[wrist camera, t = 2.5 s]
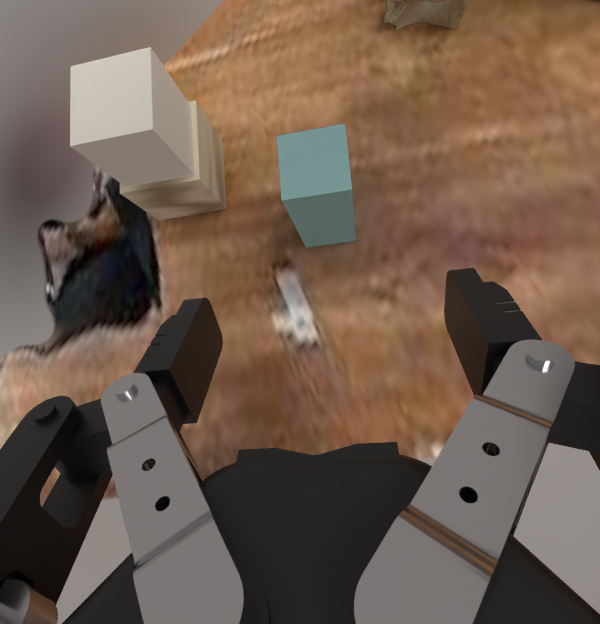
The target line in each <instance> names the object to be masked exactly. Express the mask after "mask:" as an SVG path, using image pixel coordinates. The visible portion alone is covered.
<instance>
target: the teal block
mask: <svg viewBox="0 0 600 624" xmlns="http://www.w3.org/2000/svg"><path fill="white" fill-rule="evenodd" d="M277 149H278V162H279V175H280V188H281V200H282V202H283V204H284V206H285V208H286V210H287V212H288V214H289V216H290V218H291V220H292V222H293V224H294V226H295V227H296V229H297V231H298V233H299V235H300V237H301V239H302V241H303V243H304V245H305V247H306V248H308V247H315V246H323V245H330V244H338V243H345V242H353V241H356V229H355V217H354V205H353V193H352V183H351V173H350V164H349V155H348V146H347V136H346V127H345V124H339V125H334V126H328V127H323V128H318V129H312V130H307V131H301V132H296V133H290V134H285V135H280V136H277Z"/></svg>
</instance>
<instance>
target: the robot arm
mask: <svg viewBox="0 0 600 624" xmlns="http://www.w3.org/2000/svg"><path fill="white" fill-rule="evenodd" d="M444 316H445V323H446V327H447V330H448V333H449V335H450V338H451V340H452V343H453V345H454V347H455V350H456V352H457V355H458V357H459V360H460V362H461V365H462V367H463V369H464V372H465V374H466V377H467V379H468V382H469V384H470V387H471V389H472V391H473V394H474V397H473V399H472V400H471V402H470V404H469V405H468V407H467V409H466V411H465V412H464V414H463V416H462V417H461V419H460V421H459V422H458V424H457V426H456V427H455V429H454V431H453V432H452V434H451V436H450V438H449V439H448V441H447V443H446V444H445V446H444V448H443V449H442V451H441V453H440V454H439V456H438V458H437V459H436V461H435V463H434V465H433V466H430V465H428V464H426V463H424V462H422V461H419V460H417V459H414V458H411V457H408V456H403V455H399V451H398V445H397V442H387V443H367V444H355V445H351V446H348V447H344V448H341V449H337V450H334V451H330V452H327V453H323V454H320V455H308V454H303V453H298V452H293V451H288V450H283V449H278V448H267V449H246V450H239V451H238V456H237V461H236V463H234V464H231V465H228V466H226V467H224V468H222V469H220V470H218V471H216V472H214V473H213V474H211V475H210V476H208V477H207V478H206V479H205V480H204V479H203V477H202V475H201V473H200V471H199V469H198V467H197V465H196V463H195V461H194V459H193V457H192V455H191V453H190V451H189V449H188V446H187V444H186V442H185V440H184V438H183V436H182V435H181V433H180V430H181V427H182V424H189V423H197V420H198V417H199V415H200V412H201V409H202V406H203V403H204V400H205V397H206V394H207V391H208V388H209V385H210V382H211V379H212V376H213V374H214V371H215V368H216V365H217V362H218V359H219V356H220V353H221V350H222V345H223V339H222V333H221V330H220V328H219V325H218V322H217V319H216V317H215V314H214V311H213V309H212V306H211V304H210V301H209V300H208V299H207V298H198V299H189V300H184V301H183V303H182V305H181V307H180V308H179V310H178V312H177V314H176V315H172V316H171V317H170V318H169V319H168V320H166V321H165V322H164V323H163V324H162V325H161V326H160V328H159V330H158V332H157V333H156V335H155V336H156V337H154V339H153V340H152V342H151V346H149V347H148V349H147V351H146V352H145V354H144V356H143V357H142V359H141V361H140V363H139V364H138V366H137V368H136V370H135V371H134V373H132V374H129V375H126V376H123V377H121V378H119V379H117V380H116V381H114V382H113V383H112V384H111V385H110V386H109V387H108V388H107V389H106V390H105V391H104V393H103V395H102V397H101V399H99V400H96V401H93V402H89V403H86V404H83V405H80V406H76V405H75V404H74V402H73V401H72V400H71V399H70V398H69V397H67V396H58V397H54V398H51V399H48V400H46V401H44V402H42V403H40V404H39V405H37V406H36V407H34V408H33V409H32V410H31V411H29V412H28V413H27V414H26V416H25V417H24V418H23V419H22V421H21V422H20V423H19V425H18V426H17V428H16V429H15V430H14V432H13V433H12V434H11V436H10V437H9V438H8V440H7V441H6V442H5V444H4V445H3V446H2V448H1V449H0V624H57V620H58V612H57V608H56V603H57V601H58V599H59V596H60V594H61V592H62V590H63V587H64V585H65V583H66V580H67V578H68V576H69V573H70V571H71V569H72V567H73V564H74V562H75V560H76V557H77V555H78V553H79V551H80V548H81V546H82V543H83V541H84V539H85V537H86V534H87V532H88V530H89V527H90V525H91V523H92V520H93V518H94V516H95V514H96V512H97V509H98V507H99V505H100V502H101V500H102V498H103V495H104V493H105V491H106V489H107V486H108V484H109V482H110V479H111V477H112V475H113V478H114V482H115V486H116V490H117V494H118V498H119V501H120V505H121V510H122V513H123V517H124V521H125V525H126V529H127V533H128V537H129V541H130V545H131V549H132V553H131V554H130V555H129V556H128V557H127V558H126V559H125V560H124V561H123V562H122V563H121V564H120V565H119V566H118V567H117V568H116V569H115V570H114V571H113V572H112V573H111V574H110V575H109V576H108V577H107V578H106V579H105V580H104V581H103V582H102V583H101V584H100V585H99V586H98V587H97V588H96V590H95V591H94V592H93V593H92V594H91V595H90V596H89V597H88V598H87V599H86V600H85V601H84V602H83V603H82V604H81V605H80V606H79V607H78V608H77V609H76V610H75V611H74V612H73V613H72V614H71V615H70V616H69V617H68V618H67V619H66V620H65V621H64V622H63V623H62V624H600V614H599V613H598V612H596V611H595V610H594V609H593V608H592V607H591V606H590V605H588V603H587V602H585V601H584V600H583V599H582V598H581V597H580V596H579V595H578V594H577V593H575V592H574V591H573V590H572V589H571V588H570V587H569V586H568V585H567V584H566V583H564V582H563V581H562V580H561V579H560V578H559V577H558V576H557V575H556V574H554V573H553V572H552V571H551V570H550V569H549V568H548V567H547V566H545V564H543V563H542V562H541V561H540V560H539V559H538V558H537V557H536V556H535V555H533V554H532V553H531V552H530V551H529V550H528V549H527V548H526V547H525V546H524V545H522V544H521V543H520V542H519V541H518V540H517V539H516V538H515V537H514V536H513V535H514V533H515V530H516V528H517V525H518V522H519V520H520V517H521V514H522V512H523V509H524V506H525V503H526V500H527V498H528V495H529V493H530V490H531V487H532V484H533V482H534V479H535V477H536V474H537V472H538V469H539V466H540V464H541V461H542V459H543V456H544V454H545V451H546V448H547V446H548V443H554V444H558V445H563V446H568V447H573V448H577V449H583V450H587V451H589V452H590V454H591V455H592V457H593V459H594V461H595V462H596V465H597V466H598V468H599V470H600V365H594V364H586V363H581V362H577V361H574V359H573V357H572V356H571V355H570V354H569V353H568V352H567V351H566V350H565V349H563V348H562V347H560V346H558V345H556V344H553V343H550V342H547V341H543V340H542V339H541V337H540V336H539V335H538V333H537V332H536V330H535V329H534V328H533V326H532V325H531V323H530V322H529V320H528V319H527V318H526V316H525V315H524V313H523V312H522V311H520V308H519V306H518V305H517V304H516V302H515V303H514V299H513V298H512V297H511V295H510V294H509V292H508V291H507V290H506V289H505V288H503V287H501V286H500V285H498V284H496V283H495V282H483V281H482V279H481V278H480V276H479V275H478V273H477V271H476V270H475V269H474V268H467V269H458V270H450V271H448V272H447V277H446V292H445V308H444ZM54 467H55V468H56V469H57V470H58V471H59V472H60V473H61V474H60V476H59V478H58V479H57V481H56V483H55V485H54V487H53V488H52V490H51V492H50V494H49V495H48V497H47V499H46V501H45V503H44V504H43V506H42V507H41V505H40V493H41V490H42V488H43V486H44V484H45V482H46V480H47V479H48V477H49V475H50V474H51V472H52V470H53V468H54Z"/></svg>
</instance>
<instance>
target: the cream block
mask: <svg viewBox="0 0 600 624" xmlns="http://www.w3.org/2000/svg"><path fill="white" fill-rule="evenodd" d="M70 109H71V112H70V146H71V147H72V148H74V149H75V150H76V151H78V152H79V153H80V154H82V155H83V156H84V157H86V158H87V159H88V160H90V161H91V162H93V163H94V164H95V165H97V166H98V167H99V168H101V169H102V170H103V171H105V172H106V173H107V174H109V175H110V176H112V177H113V178H114V179H116V180H117V181H118V182H120V183H121V184H122V185H124V186H125V187H131V186H137V185H142V184H148V183H153V182H159V181H165V180H170V179H176V178H181V177H187V176H192V175H195V172H194V151H193V130H192V109H191V106H190V104H189V103H188V101H187V100H186V99H185V97H184V96H183V94H182V93H181V91H180V90H179V88H178V87H177V85H176V84H175V82H174V81H173V79H172V78H171V76H170V75H169V74H168V72H167V71H166V69H165V68H164V66H163V65H162V63H161V62H160V60H159V59H158V57H157V56H156V55H155V53H154V52H153V50H152V49H151V47H149V48H145V49H141V50H137V51H133V52H128V53H124V54H120V55H116V56H112V57H108V58H104V59H99V60H95V61H91V62H87V63H83V64H79V65H75V66H71V108H70Z"/></svg>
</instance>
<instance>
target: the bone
mask: <svg viewBox="0 0 600 624" xmlns="http://www.w3.org/2000/svg"><path fill="white" fill-rule="evenodd" d="M385 2H386V13H385V17H384V23H391V24H392V25H394V26H396V30H398V29H400V28H403V27H405V26H407V25H410V24H413V23H419V22H422V23H429V24H434V25H439V26H443V27H448V28H450V29H455V28H456V27H457V25H458V24H459V22H460V20H461V17H462V16H463V14H464V11H465V8H466V6H467V3H468V0H443V1H440V2H436V3H433V2H429V1H427V0H385Z"/></svg>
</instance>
